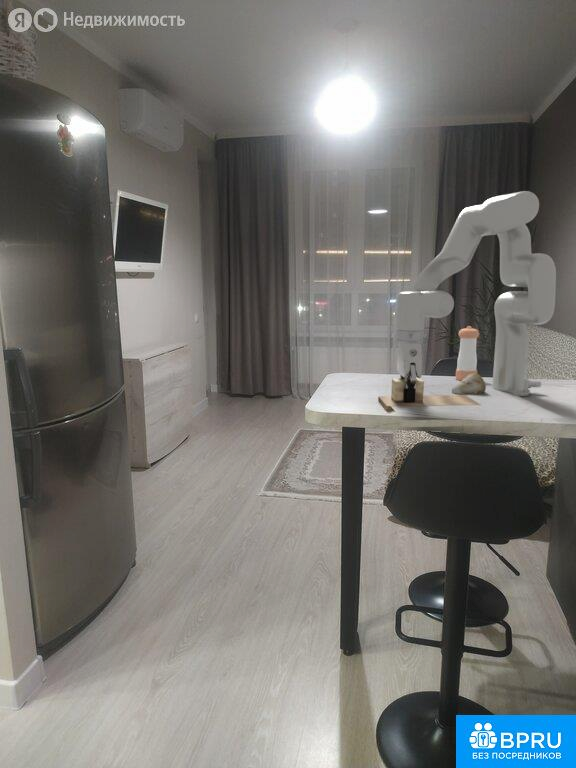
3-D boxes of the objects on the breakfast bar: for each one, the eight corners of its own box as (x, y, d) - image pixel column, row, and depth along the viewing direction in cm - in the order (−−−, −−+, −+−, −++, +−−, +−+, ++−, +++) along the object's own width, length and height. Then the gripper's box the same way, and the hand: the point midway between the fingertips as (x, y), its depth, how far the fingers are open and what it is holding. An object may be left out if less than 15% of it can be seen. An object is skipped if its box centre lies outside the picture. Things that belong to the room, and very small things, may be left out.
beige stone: (443, 396, 159) (454, 367, 161) (469, 409, 161) (479, 380, 163) (457, 395, 152) (468, 365, 154) (484, 408, 154) (494, 378, 156)
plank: (464, 400, 153) (465, 395, 153) (480, 410, 141) (480, 404, 141) (378, 401, 153) (378, 396, 152) (386, 411, 141) (386, 406, 141)
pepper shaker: (470, 382, 180) (473, 327, 176) (451, 379, 185) (454, 326, 181) (480, 379, 185) (484, 326, 181) (462, 376, 190) (465, 324, 186)
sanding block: (418, 398, 149) (419, 378, 148) (423, 402, 145) (424, 381, 143) (391, 398, 149) (392, 378, 148) (394, 402, 144) (395, 381, 143)
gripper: (431, 339, 135) (428, 407, 138) (414, 333, 151) (412, 393, 155) (403, 340, 135) (400, 407, 138) (389, 333, 151) (387, 394, 155)
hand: (406, 399), depth 147 cm, fingers closed on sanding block, 4 cm apart
